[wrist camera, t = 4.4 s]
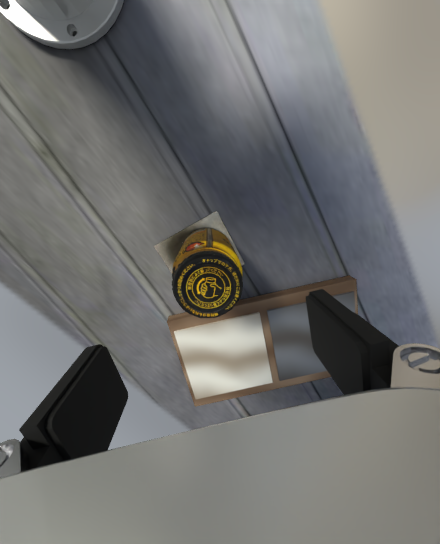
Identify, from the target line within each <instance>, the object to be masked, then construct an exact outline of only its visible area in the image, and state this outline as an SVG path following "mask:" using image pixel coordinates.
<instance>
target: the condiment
mask: <svg viewBox="0 0 440 544" xmlns="http://www.w3.org/2000/svg"><path fill="white" fill-rule="evenodd" d="M182 242H183V243H182ZM154 247H155V249H156V250H157V252H158V253H159V254H160V256H161V257H162V259H163V261H164V262H165V264H166V265H167V266H168V268H169V270H170V271H171V273H172V278H173V281H172V286H173V289H172V290H173V294H174V296H175V298H176V301H177V302H178V304H179V305H180V306H181V307H182V309H183V310H185V311H186V312H187V313H189V314H191V315H193V316H196V317H198V318H216V317H219V316H221V315H223V314H226V313H227V312H229V311H230V310H232V309H233V307H234V306H235V304H236V303H237V302H238V301H239V299H240V297H241V293H242V287H243V282H242V265H244V264H245V263H244V261H243V260H242V258H241V256H240V254H239V252H238V250H237V248H236V246H235V244H234V242H233V241H232V239H231V237H230V235H229V233H228V231H227V229H226V227H225V225H224V224H223V222H222V220H221V218H220V216H219V214H218V212H217V211H215V212H214V213H212V214H210V215H208V216H207V217H205V218H203V219H201V220H199V221H198V222H196V223H194V224H192V225H191V226H189V227H187V228H185V229H183V230H182V231H180V232H178V233H176V234H175V235H173V236H171V237H169V238H167V239H166V240H164V241H162V242H161V243H159V244H157V245H155V246H154Z"/></svg>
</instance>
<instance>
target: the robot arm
mask: <svg viewBox="0 0 440 544" xmlns="http://www.w3.org/2000/svg"><path fill="white" fill-rule="evenodd" d="M123 1H124V0H0V12H1V13H2V15H3V16H4V17H5V18H6V19H8V20H9V21H10V22H11V23H12V24H13V25H14V26H15V27H16V28H17V29H19V30H20V31H22V32H23V33H24V34H26V35H27V36H28V37H30V38H32V39H34V40H36V41H38V42H40V43H42V44H44V45H47V46H51V47H54V48H58V49H75V48H81V47H85V46H87V45H89V44H92V43H94V42H96V41H97V40H98V39H100V38H101V37H102V36H103V35H105V34H106V33H107V31H108V30H109V29H110V28H111V26H112V25H113V24H114V23H115V21H116V19H117V17H118V15H119V13H120V11H121V8H122V5H123ZM75 35H76V36H75ZM306 306H307V312H308V319H309V326H310V333H311V340H312V346H313V350H314V352H315V354H316V355H317V357H318V358H319V360H320V361H321V363H322V364H323V365H324V367H325V368H326V370H327V371H328V373H329V374H330V375H331V377H332V378H333V380H334V381H335V383H336V384H337V385H338V387H339V388H340V390H341V391H342V393H343V394H344V395H342V396H337V397H332V398H328V399H323V400H319V401H315V402H310V403H306V404H302V405H297V406H293V407H289V408H284V409H280V410H276V411H272V412H267V413H263V414H259V415H254V416H250V417H246V418H241V419H237V420H233V421H229V422H224V423H220V424H216V425H212V426H207V427H203V428H199V429H195V430H191V431H186V432H182V433H178V434H174V435H170V436H166V437H161V438H157V439H153V440H149V441H145V442H140V443H136V444H132V445H128V446H124V447H120V448H116V449H111V450H108V447H109V445H110V442H111V440H112V437H113V435H114V432H115V430H116V427H117V425H118V422H119V420H120V417H121V415H122V412H123V409H124V407H125V405H126V402H127V399H128V392H127V389H126V387H125V385H124V383H123V381H122V379H121V377H120V374H119V372H118V370H117V368H116V366H115V364H114V362H113V360H112V358H111V355H110V353H109V351H108V349H107V348H106V347H105V346H104V347H103V346H102V345H100V344H99V345H95V346H91V347H87V348H86V349H85V350H84V351H83V352H82V354H81V355H80V356H79V357H78V358H77V360H76V361H75V362H74V363H73V364H72V366H71V367H70V368H69V369H68V371H67V372H66V373H65V374H64V375H63V377H62V378H61V379H60V381H59V382H58V383H57V384H56V385H55V386H54V388H53V389H52V390H51V391H50V393H49V394H48V395H47V396H46V398H45V399H44V400H43V401H42V402H41V404H40V405H39V406H38V407H37V409H36V410H35V411H34V412H33V414H32V415H31V416H30V417H29V418H28V420H27V421H26V422H25V423H24V424H23V426H22V427H21V428H20V432H21V433H22V434H23V436H24V438H23V439H22V441H21V442H19V440H16V439H11V440H7V441H5V442H2V443H0V544H440V349H439V348H436V347H434V346H430V345H425V344H416V343H412V344H404V345H401V346H398V345H397V344H396V343H394V342H393V341H392V340H390V339H389V338H388V337H386V336H385V335H384V334H382V333H381V332H380V331H379V330H377V329H376V328H375V327H373V326H372V325H371V324H369V323H368V322H367V321H365V320H364V319H363V318H361V317H360V316H359V315H358V314H356V313H354V312H352V311H351V310H350V309H348V308H347V307H346V306H344V305H343V304H342V303H340V302H339V301H338V300H337V299H335V298H334V297H333V296H331V295H330V294H329V293H328V292H326V291H325V290H324V289H320V290H316V291H312V292H309V296H306Z"/></svg>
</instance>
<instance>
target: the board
mask: <svg viewBox="0 0 440 544" xmlns="http://www.w3.org/2000/svg"><path fill="white" fill-rule="evenodd" d="M320 289H324V290H325V291H326V292H328V293H329V294H330V295H331V296H333V297H334V298H335V299H337V300H338V301H339V302H340V303H342V304H343V305H344V306H346V307H347V308H348V309H350V310H351V311H352V312H354V313H356V314H358V305H357V283H356V279H355V278H353V277H351V276H344V277H340V278H335V279H331V280H327V281H322V282H318V283H313V284H309V285H304V286H300V287H296V288H291V289H287V290H282V291H278V292H273V293H269V294H265V295H260V296H256V297H251V298H247V299H242V300H239V301H238V302H237V303H236V304H235V306H234V307H233V309H232V310H230V311H229V312H227V313H226V314H223V315H221V316H219V317H216V318H198V317H196V316H193V315H191V314H189V313H187V312H185V313H180V314H176V315H172V316H169V317H168V320H167V323H168V326H169V329H170V332H171V335H172V338H173V341H174V344H175V347H176V350H177V354H178V357H179V360H180V363H181V366H182V369H183V372H184V375H185V378H186V381H187V384H188V387H189V390H190V393H191V396H192V399H193V402H194V405H195V406H200V405H205V404H209V403H214V402H218V401H223V400H227V399H232V398H237V397H241V396H246V395H250V394H255V393H259V392H264V391H269V390H273V389H278V388H282V387H287V386H291V385H296V384H301V383H305V382H310V381H314V380H319V379H323V378H328V377H331V375H330V374H329V373H328V371H327V370H326V368H325V367H324V365H323V364H322V363H321V361H320V360H319V358H318V357H317V355H316V354H315V352H314V350H313V346H312V340H311V333H310V326H309V319H308V312H307V306H306V296H309V292H312V291H316V290H320Z"/></svg>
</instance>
